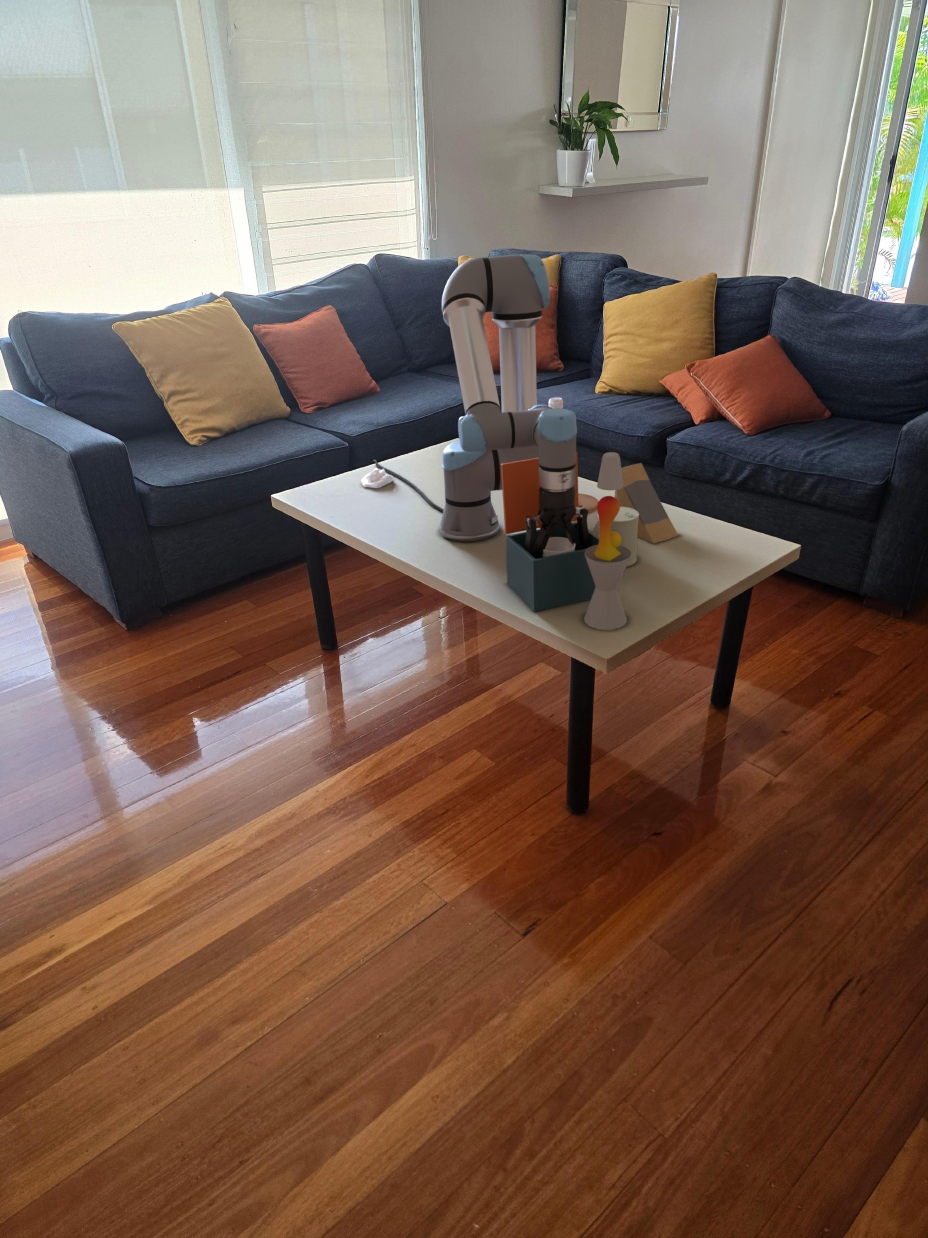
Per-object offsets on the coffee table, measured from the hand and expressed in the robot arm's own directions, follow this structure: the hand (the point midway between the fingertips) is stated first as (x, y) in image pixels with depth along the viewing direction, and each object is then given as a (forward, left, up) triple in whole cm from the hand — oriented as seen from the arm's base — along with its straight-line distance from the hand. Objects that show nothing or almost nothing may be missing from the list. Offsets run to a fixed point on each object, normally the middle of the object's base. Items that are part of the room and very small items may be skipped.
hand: (556, 584), depth 183 cm
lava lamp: (+17, +3, -1) cm, 17 cm away
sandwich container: (-20, +34, -1) cm, 40 cm away
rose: (-87, -18, -1) cm, 89 cm away
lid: (-7, 0, +19) cm, 20 cm away
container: (0, 0, -1) cm, 1 cm away
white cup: (0, 0, 0) cm, 0 cm away
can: (-8, +19, -1) cm, 21 cm away
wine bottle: (-43, +20, -1) cm, 48 cm away
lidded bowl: (-25, +16, -1) cm, 30 cm away
